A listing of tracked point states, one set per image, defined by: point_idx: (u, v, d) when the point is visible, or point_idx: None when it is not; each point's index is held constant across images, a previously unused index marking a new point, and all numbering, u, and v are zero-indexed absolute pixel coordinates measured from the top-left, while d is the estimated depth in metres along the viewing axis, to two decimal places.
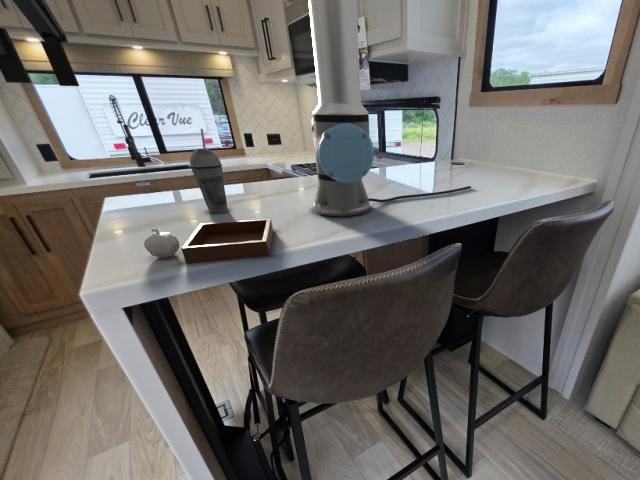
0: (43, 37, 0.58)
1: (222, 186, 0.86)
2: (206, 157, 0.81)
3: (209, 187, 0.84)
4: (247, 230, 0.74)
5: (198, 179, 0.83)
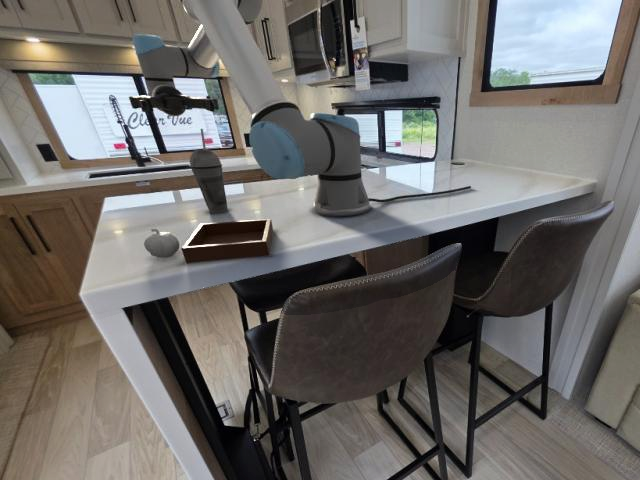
0: None
1: (222, 186, 0.86)
2: (206, 157, 0.81)
3: (209, 187, 0.84)
4: (247, 230, 0.74)
5: (198, 179, 0.83)
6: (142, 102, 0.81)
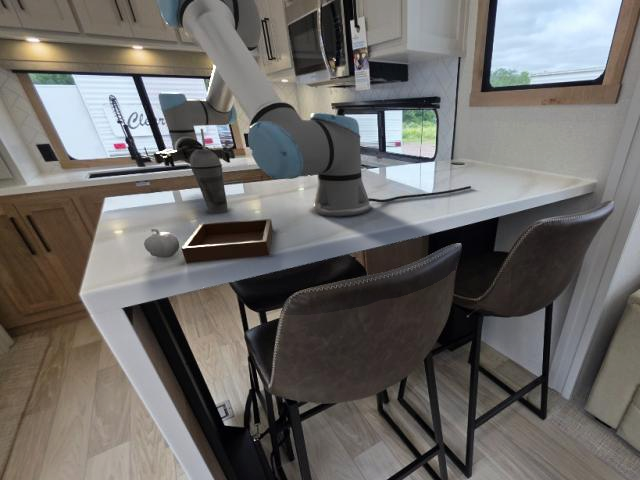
0: None
1: (222, 186, 0.86)
2: (206, 157, 0.81)
3: (209, 187, 0.84)
4: (247, 230, 0.74)
5: (198, 179, 0.83)
6: (165, 158, 0.87)
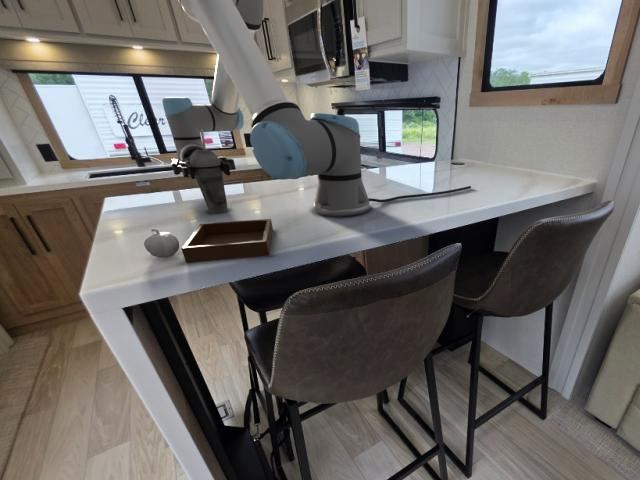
0: None
1: (222, 186, 0.86)
2: (206, 157, 0.81)
3: (209, 187, 0.84)
4: (247, 230, 0.74)
5: (198, 179, 0.83)
6: (184, 169, 0.80)
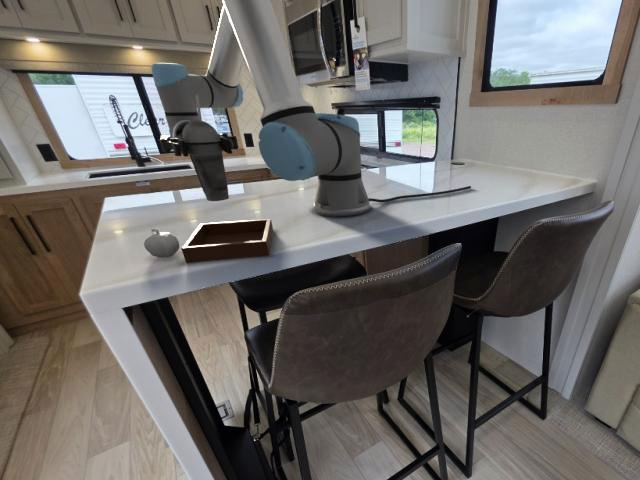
0: None
1: (222, 168, 0.71)
2: (202, 130, 0.65)
3: (206, 168, 0.69)
4: (247, 230, 0.74)
5: (193, 158, 0.68)
6: (175, 145, 0.65)
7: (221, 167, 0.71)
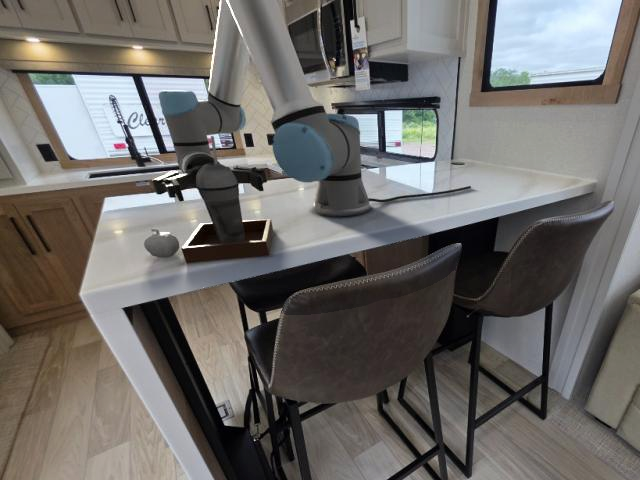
0: None
1: (239, 212, 0.65)
2: (218, 175, 0.59)
3: (221, 214, 0.63)
4: (247, 230, 0.74)
5: (207, 204, 0.62)
6: (169, 188, 0.58)
7: (238, 211, 0.65)
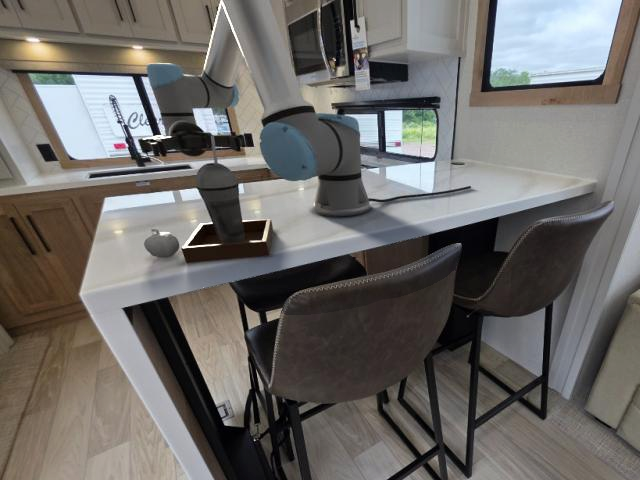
0: None
1: (239, 212, 0.65)
2: (218, 175, 0.59)
3: (221, 214, 0.63)
4: (247, 230, 0.74)
5: (207, 204, 0.62)
6: (153, 145, 0.64)
7: (238, 211, 0.65)
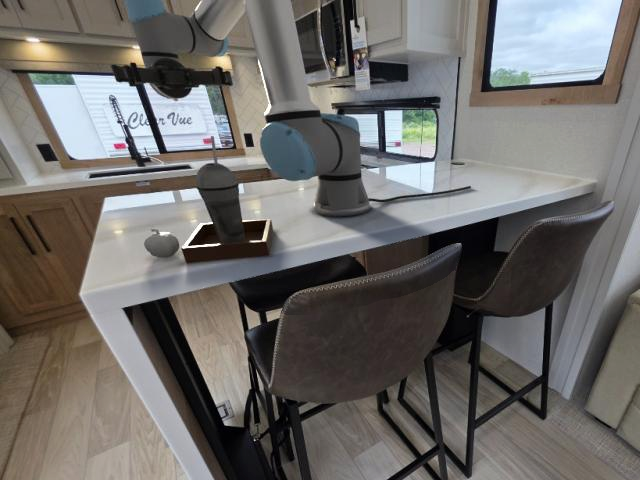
0: None
1: (239, 212, 0.65)
2: (218, 175, 0.59)
3: (221, 214, 0.63)
4: (247, 230, 0.74)
5: (207, 204, 0.62)
6: (127, 70, 0.58)
7: (238, 211, 0.65)
